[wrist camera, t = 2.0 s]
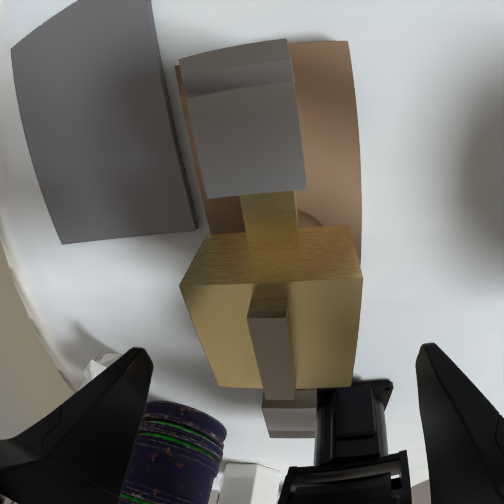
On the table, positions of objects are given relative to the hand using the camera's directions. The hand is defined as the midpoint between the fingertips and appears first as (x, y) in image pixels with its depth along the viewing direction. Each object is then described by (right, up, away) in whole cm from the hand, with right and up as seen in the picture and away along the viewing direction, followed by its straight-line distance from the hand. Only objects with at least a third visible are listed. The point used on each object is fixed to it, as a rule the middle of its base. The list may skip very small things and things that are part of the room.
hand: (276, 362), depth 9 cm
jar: (-1, -29, +27) cm, 39 cm away
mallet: (+1, +2, +3) cm, 4 cm away
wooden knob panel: (+1, +4, +6) cm, 8 cm away
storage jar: (-8, -15, +20) cm, 27 cm away
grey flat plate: (-9, +10, +4) cm, 15 cm away
